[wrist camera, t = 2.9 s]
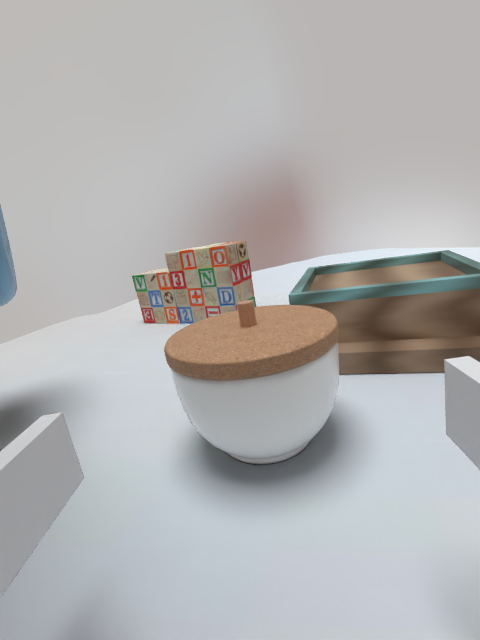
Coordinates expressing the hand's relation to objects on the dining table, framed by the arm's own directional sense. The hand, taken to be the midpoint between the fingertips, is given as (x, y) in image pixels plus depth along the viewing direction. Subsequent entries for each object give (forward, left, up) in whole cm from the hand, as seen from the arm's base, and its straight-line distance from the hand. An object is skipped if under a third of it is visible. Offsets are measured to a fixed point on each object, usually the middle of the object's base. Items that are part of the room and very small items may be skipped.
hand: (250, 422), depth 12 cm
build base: (+6, +30, -7) cm, 31 cm away
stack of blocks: (-23, +43, -8) cm, 49 cm away
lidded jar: (-3, +10, -7) cm, 13 cm away
